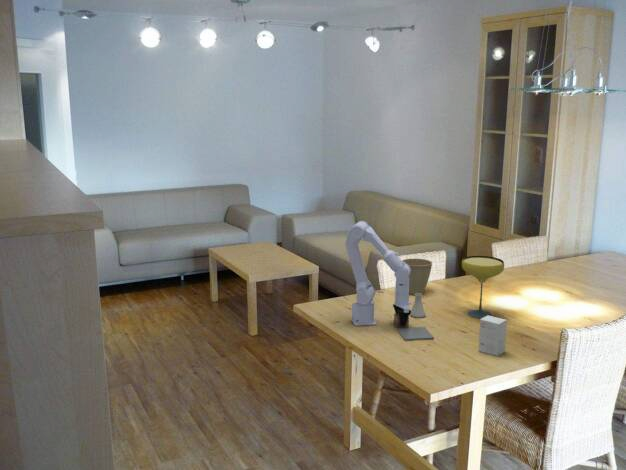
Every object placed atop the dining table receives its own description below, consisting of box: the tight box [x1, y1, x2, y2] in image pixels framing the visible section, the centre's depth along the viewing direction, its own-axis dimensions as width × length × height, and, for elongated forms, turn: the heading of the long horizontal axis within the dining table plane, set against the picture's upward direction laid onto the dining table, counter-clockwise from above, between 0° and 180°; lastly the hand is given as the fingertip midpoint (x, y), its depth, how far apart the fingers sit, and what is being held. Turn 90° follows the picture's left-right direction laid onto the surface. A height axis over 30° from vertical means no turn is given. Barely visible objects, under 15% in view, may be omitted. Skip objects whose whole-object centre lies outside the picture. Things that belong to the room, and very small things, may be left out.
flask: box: [409, 293, 427, 319], centre depth 278 cm, size 7×7×10 cm
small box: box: [478, 315, 507, 357], centre depth 238 cm, size 8×6×13 cm
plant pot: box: [401, 258, 433, 296], centre depth 309 cm, size 15×15×16 cm
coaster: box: [396, 326, 435, 342], centre depth 256 cm, size 12×12×1 cm
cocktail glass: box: [461, 255, 505, 320], centre depth 277 cm, size 18×18×25 cm
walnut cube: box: [393, 313, 410, 329], centre depth 265 cm, size 5×5×5 cm
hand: (401, 323), depth 265 cm, fingers closed on walnut cube, 5 cm apart
